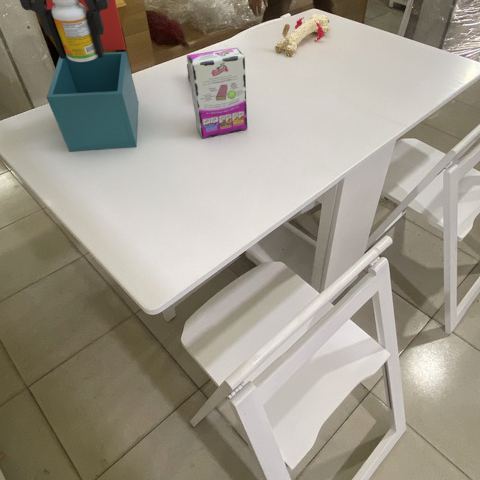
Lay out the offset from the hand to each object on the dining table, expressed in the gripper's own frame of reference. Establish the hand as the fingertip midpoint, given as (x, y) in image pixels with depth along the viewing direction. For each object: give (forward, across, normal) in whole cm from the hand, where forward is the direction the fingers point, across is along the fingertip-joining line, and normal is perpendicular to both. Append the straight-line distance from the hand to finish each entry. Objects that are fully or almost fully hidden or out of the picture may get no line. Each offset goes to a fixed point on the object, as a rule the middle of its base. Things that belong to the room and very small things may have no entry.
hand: (82, 54), depth 70 cm
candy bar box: (+20, +24, +7) cm, 32 cm away
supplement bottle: (+1, 0, 0) cm, 1 cm away
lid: (-2, -3, +23) cm, 23 cm away
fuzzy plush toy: (+20, +54, +54) cm, 79 cm away
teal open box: (+21, -3, +12) cm, 24 cm away
